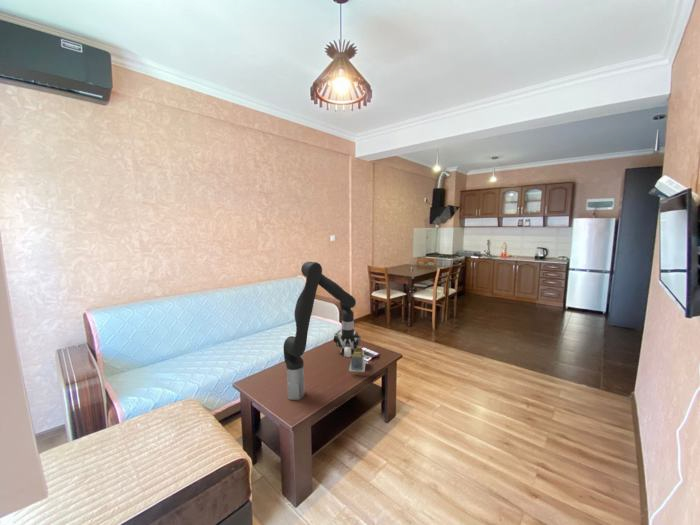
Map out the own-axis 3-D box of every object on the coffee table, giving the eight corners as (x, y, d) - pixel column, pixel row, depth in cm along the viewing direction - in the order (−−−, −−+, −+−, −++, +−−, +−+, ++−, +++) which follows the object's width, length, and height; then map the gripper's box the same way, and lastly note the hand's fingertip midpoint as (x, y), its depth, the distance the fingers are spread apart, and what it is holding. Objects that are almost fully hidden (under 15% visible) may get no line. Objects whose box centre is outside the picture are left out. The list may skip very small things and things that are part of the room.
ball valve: (333, 355, 210) (332, 331, 207) (337, 350, 218) (336, 327, 215) (357, 358, 205) (357, 334, 202) (360, 353, 213) (360, 329, 210)
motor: (364, 372, 187) (364, 354, 185) (348, 371, 188) (348, 353, 186) (365, 362, 199) (365, 345, 197) (351, 361, 200) (350, 345, 198)
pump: (351, 357, 180) (351, 346, 179) (343, 356, 180) (343, 345, 180) (352, 353, 185) (352, 343, 184) (344, 353, 185) (344, 342, 184)
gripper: (335, 329, 177) (335, 355, 180) (358, 330, 176) (358, 357, 178) (337, 324, 185) (337, 350, 187) (360, 325, 183) (359, 351, 185)
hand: (347, 353), depth 182 cm, fingers closed on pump, 4 cm apart
